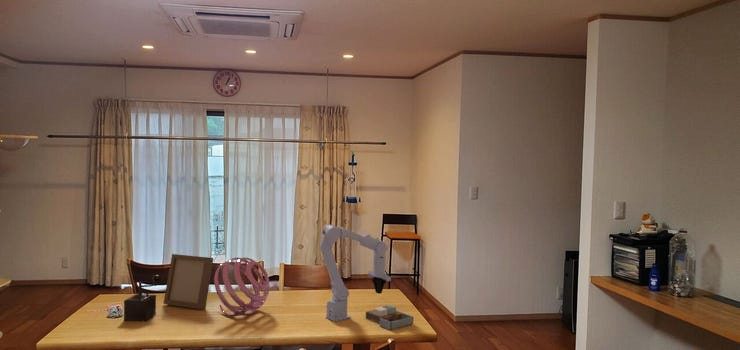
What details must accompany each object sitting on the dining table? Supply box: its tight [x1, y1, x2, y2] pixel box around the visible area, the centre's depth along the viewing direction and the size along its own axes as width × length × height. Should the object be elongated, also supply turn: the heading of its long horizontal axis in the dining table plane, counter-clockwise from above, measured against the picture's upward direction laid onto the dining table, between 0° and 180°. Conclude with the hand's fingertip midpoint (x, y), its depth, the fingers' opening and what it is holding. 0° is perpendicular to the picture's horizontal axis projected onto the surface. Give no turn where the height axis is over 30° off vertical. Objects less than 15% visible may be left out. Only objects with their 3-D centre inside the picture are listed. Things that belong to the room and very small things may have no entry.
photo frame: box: [163, 253, 214, 310], centre depth 244 cm, size 15×22×25 cm
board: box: [365, 309, 402, 325], centre depth 228 cm, size 13×12×3 cm
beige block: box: [373, 306, 388, 316], centre depth 225 cm, size 5×5×3 cm
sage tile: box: [382, 304, 397, 314], centre depth 228 cm, size 5×5×3 cm
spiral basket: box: [213, 257, 271, 317], centre depth 231 cm, size 28×28×27 cm
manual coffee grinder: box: [123, 274, 162, 322], centre depth 224 cm, size 16×11×18 cm
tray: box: [379, 312, 414, 332], centre depth 219 cm, size 14×7×4 cm, turn 130°
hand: (378, 292), depth 234 cm, fingers closed
